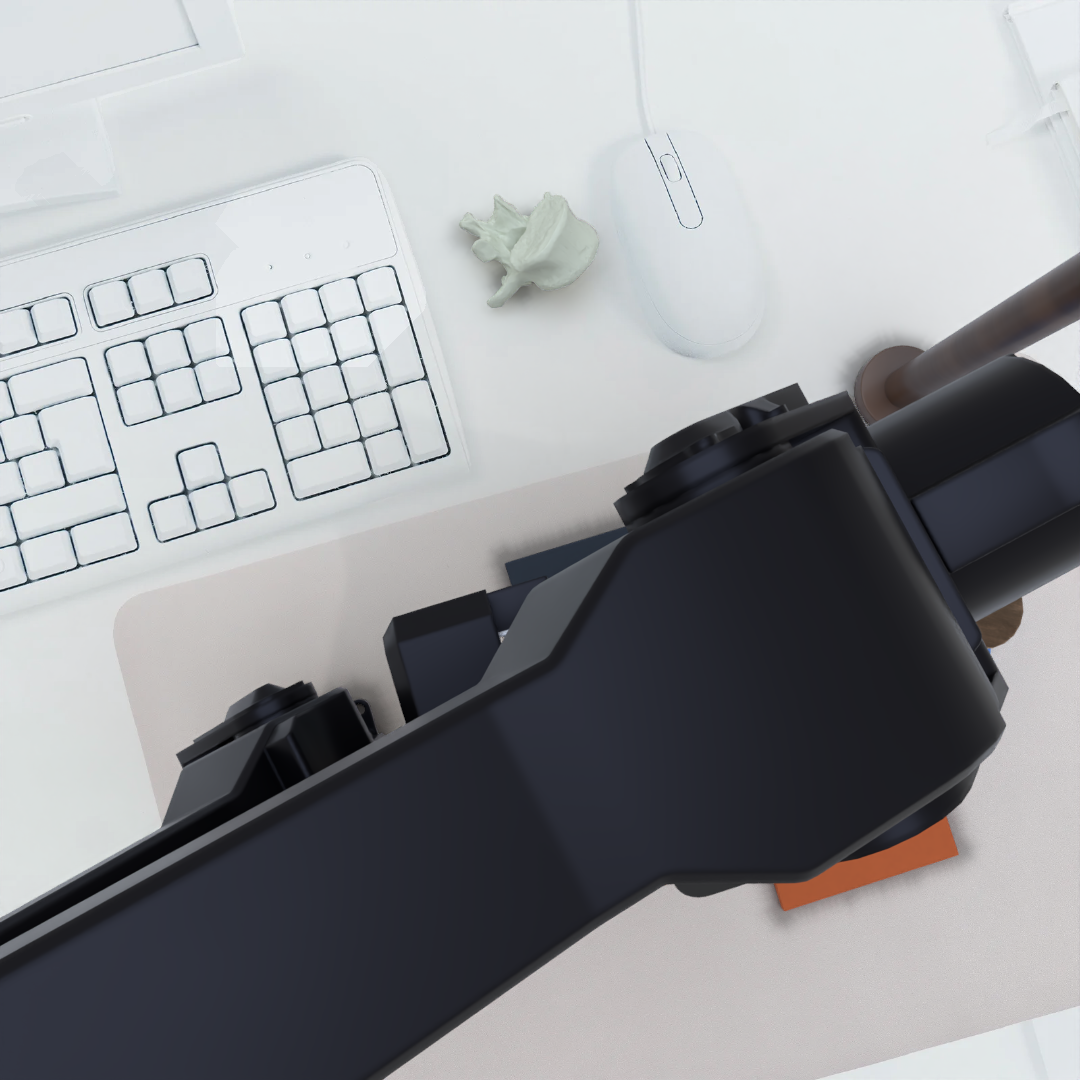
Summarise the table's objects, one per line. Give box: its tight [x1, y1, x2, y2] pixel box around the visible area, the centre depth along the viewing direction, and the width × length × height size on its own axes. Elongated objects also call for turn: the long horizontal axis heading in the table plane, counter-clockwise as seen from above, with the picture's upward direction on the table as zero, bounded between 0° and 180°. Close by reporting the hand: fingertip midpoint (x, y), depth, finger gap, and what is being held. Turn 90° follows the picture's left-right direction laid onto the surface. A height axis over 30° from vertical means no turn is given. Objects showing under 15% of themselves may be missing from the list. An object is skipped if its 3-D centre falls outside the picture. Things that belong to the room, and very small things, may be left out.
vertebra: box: [458, 191, 600, 309], centre depth 50 cm, size 6×7×4 cm
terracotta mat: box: [773, 815, 959, 912], centre depth 50 cm, size 9×9×1 cm
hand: (630, 626), depth 45 cm, fingers closed on beer can, 5 cm apart
